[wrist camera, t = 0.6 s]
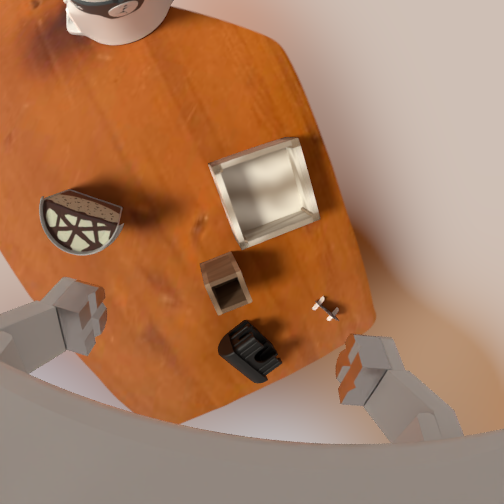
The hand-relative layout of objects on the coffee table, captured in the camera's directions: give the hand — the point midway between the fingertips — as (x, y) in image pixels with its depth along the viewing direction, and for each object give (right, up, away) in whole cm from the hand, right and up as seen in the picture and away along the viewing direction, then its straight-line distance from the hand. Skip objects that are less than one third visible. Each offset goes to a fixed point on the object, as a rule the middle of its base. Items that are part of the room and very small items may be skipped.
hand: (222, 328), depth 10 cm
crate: (+2, +12, +40) cm, 42 cm away
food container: (-24, +8, +36) cm, 44 cm away
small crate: (-4, -1, +44) cm, 44 cm away
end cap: (0, -15, +50) cm, 53 cm away
